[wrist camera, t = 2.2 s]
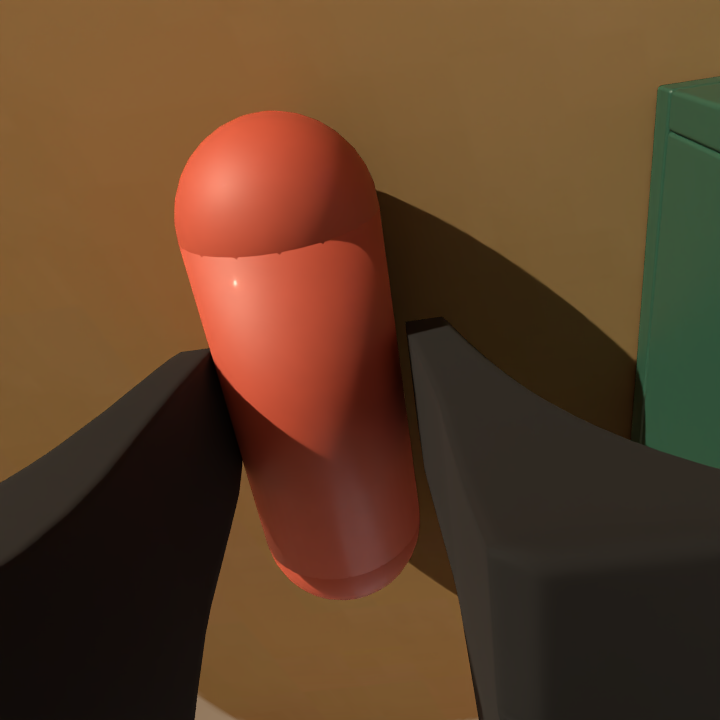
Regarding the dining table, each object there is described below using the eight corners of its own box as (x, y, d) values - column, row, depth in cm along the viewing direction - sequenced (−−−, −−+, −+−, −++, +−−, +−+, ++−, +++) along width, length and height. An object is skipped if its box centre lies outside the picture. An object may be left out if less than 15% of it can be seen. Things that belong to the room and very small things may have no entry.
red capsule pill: (426, 516, 14) (427, 633, 12) (295, 522, 15) (268, 637, 12) (371, 83, 10) (354, 118, 7) (186, 109, 10) (109, 152, 8)
